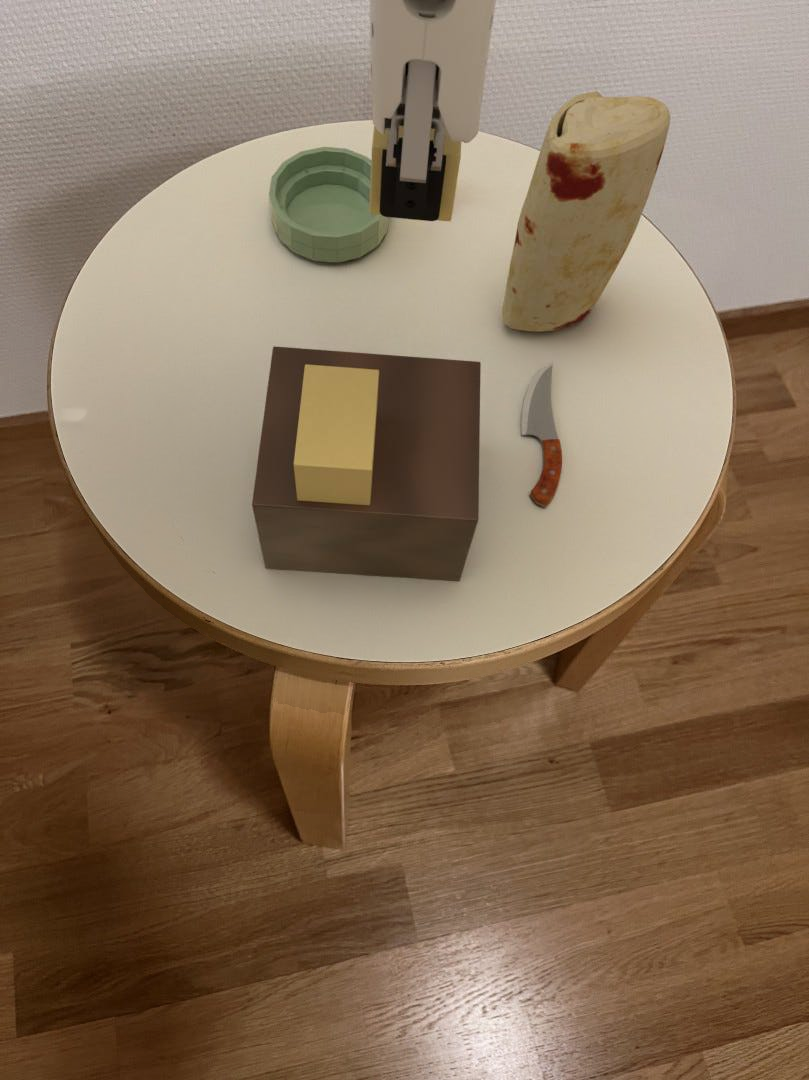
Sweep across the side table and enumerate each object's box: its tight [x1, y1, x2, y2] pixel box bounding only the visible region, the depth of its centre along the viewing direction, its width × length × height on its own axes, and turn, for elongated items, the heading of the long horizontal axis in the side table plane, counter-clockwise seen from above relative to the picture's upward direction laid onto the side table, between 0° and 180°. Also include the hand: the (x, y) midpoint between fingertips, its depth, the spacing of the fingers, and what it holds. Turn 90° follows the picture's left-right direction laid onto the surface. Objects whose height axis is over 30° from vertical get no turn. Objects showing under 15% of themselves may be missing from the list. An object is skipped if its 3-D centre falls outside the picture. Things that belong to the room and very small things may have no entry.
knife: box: [521, 360, 563, 508], centre depth 70 cm, size 13×1×3 cm
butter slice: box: [369, 125, 462, 222], centre depth 48 cm, size 4×2×4 cm, turn 87°
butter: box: [294, 365, 379, 505], centre depth 55 cm, size 4×7×4 cm, turn 177°
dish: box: [268, 146, 390, 263], centre depth 77 cm, size 10×10×4 cm
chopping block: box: [251, 345, 482, 582], centre depth 62 cm, size 14×12×10 cm
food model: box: [501, 90, 671, 332], centre depth 66 cm, size 10×7×20 cm
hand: (411, 190), depth 49 cm, fingers closed on butter slice, 2 cm apart
